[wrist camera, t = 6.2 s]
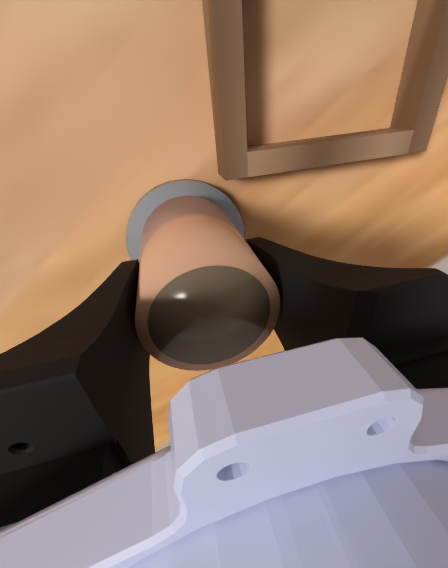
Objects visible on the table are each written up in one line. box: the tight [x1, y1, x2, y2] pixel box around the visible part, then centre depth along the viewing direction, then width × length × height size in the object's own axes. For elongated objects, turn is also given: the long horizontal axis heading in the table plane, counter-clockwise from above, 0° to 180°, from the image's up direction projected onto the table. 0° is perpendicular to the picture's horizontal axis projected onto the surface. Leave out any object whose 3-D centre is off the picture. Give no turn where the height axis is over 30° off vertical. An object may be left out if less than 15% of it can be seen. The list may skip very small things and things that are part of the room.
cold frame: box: [203, 0, 448, 180], centre depth 11 cm, size 10×8×2 cm
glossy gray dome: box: [126, 179, 245, 261], centre depth 14 cm, size 6×6×1 cm
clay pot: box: [135, 196, 280, 371], centre depth 11 cm, size 4×4×6 cm
